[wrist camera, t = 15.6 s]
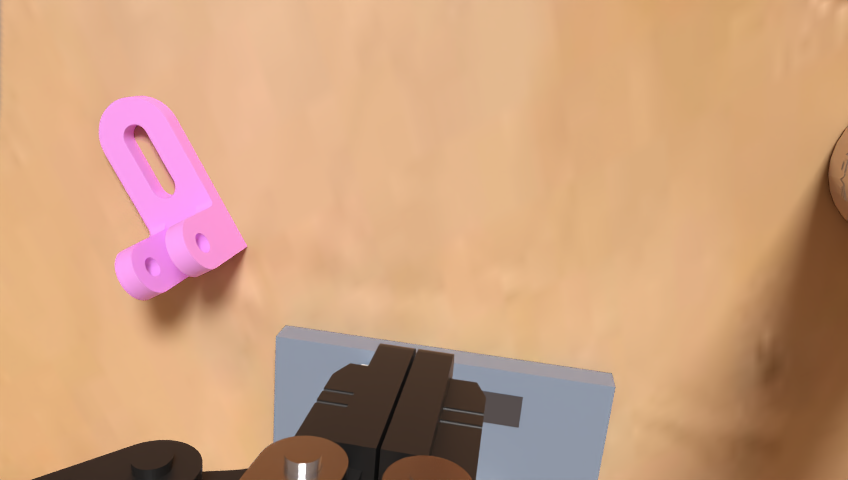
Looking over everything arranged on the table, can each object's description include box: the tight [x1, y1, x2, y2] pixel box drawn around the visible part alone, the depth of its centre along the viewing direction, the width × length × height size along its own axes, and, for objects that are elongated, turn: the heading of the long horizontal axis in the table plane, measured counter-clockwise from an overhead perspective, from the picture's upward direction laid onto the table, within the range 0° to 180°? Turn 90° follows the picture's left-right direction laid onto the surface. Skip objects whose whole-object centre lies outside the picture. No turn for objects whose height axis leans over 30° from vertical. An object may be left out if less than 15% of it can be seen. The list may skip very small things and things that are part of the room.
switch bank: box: [274, 326, 615, 480], centre depth 49 cm, size 24×16×2 cm, turn 85°
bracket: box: [99, 96, 247, 300], centre depth 44 cm, size 13×6×7 cm, turn 27°
